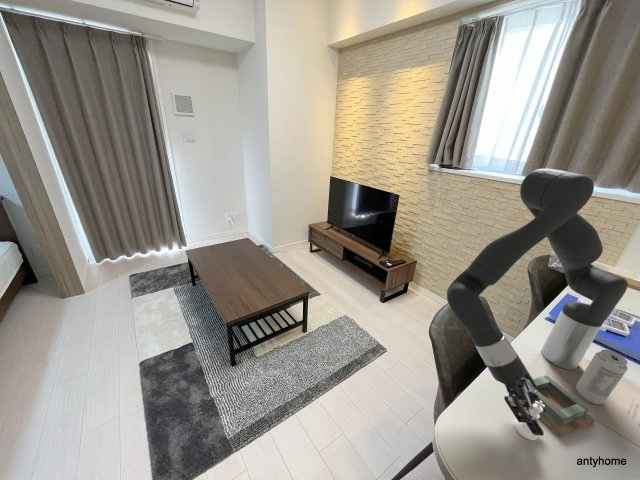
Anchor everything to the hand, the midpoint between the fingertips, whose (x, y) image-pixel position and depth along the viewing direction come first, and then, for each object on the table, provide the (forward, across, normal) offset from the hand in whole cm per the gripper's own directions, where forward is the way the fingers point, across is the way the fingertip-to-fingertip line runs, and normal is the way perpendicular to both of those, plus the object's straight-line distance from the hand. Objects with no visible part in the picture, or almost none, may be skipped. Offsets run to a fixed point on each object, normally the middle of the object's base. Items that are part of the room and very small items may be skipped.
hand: (540, 421), depth 61 cm
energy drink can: (+11, +25, -4) cm, 28 cm away
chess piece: (+2, 0, +4) cm, 5 cm away
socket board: (+5, +13, +2) cm, 14 cm away
